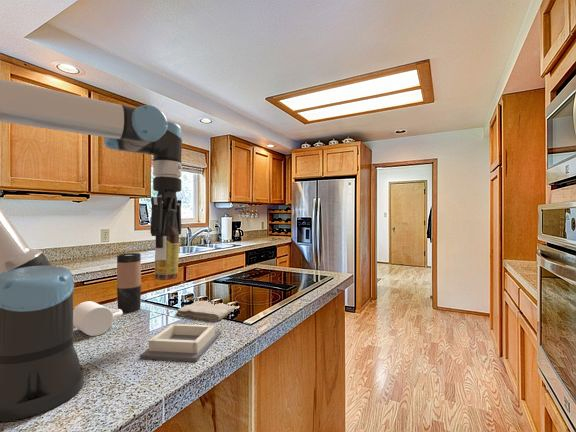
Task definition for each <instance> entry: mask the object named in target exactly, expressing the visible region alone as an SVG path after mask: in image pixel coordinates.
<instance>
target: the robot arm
mask: <svg viewBox="0 0 576 432" xmlns="http://www.w3.org/2000/svg"><path fill="white" fill-rule="evenodd" d="M0 123H6V124H13V125H19V126H26V127H33V128H41V129H46V130H53V131H59V132H60V131H62V132H66V133H76V134H81V135H82V134H83V135H88V136H89V135H90V136H94V137H95V136H96V137H103V144H104V146H105V147H106V148H107V149H110V150H115V151H118V152H127V153H128V152H129V153H135V154H144V155H151V156H153V159H152V160H153V163H152V164H153V165H152V167H153V168H152V169H153V171H152V175H153V176H154V178H152V189H153V191H154V192H157V194H156V196H151V197H150V205H151V212H150V213H151V217H150V232H149V233H150V235H151V237H155V247H154V249H155V252H154V261H155V260H166V236H164V235H165V229H166V223H167V217H168V213H169V212H170V210H176V216H175V226H176V229H177V230H178V232H179V236H180V235H181V234H182V199H178V197H177V193H179V192H181V191H182V179H181V177H182V170H183V169H184V168H183V166H182V152H183V151H182V149H183V145H182V144H183V136H182V128H181V126H180V125H179V124H178V123H176V122H174V121H168V120H167V117H166V115H165V113H164V112H163V111H162V110H161V109H159V108H158V107H157V106H155V105H152V104H143V105H140V106H137V107H134V106H129V105H124V104H119V103H113V102H109V101H104V100H100V99H96V98H91V97H86V96H82V95H77V94H73V93H68V92H64V91H59V90H55V89H50V88H46V87H41V86H36V85H32V84H27V83H22V82H17V81H13V80H8V79H4V78H0ZM74 290H75V281H74V277H73V273H72V271H71V270H70V269H68V268H66V267H63V266H56V265H52V263H51V262H50V260H49V259H48V258H47V256H46V255H45V253H44V252H43V251H42V250H39V249H34V248H31V247H29V245H28V244H27V242H26V241H25V240H24V238H23V237H22V235H21V234H20V233H19V231H18V229H17V228H16V227H15V225H14V224H13V223H12V221H11V220H10V218H9V217H8V216H7V214H6V213H5V212H4V210H3V208H2V207H1V206H0V421H6V422H13V421H16V420H22V419H25V418H29V417H33V416H36V415H39V414H41V413H44V412H46V411H50V410H51V409H53V408H56V407H58V406H60V405H62V404H63V403H65V402H67V401H68V400H70V399H72V398H73V397H75V396H76V395H77V394H78V393H79V392H80V391H81V389H83V387H84V384H85V370H84V367H83V366H82V365H81V363H80V360H79V357H78V356H79V355H78V354H77V351H76V349H75V346H74V326H73V309H74Z"/></svg>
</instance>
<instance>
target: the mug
mask: <svg viewBox="0 0 576 432" xmlns="http://www.w3.org/2000/svg"><path fill="white" fill-rule="evenodd" d="M123 315H124V313H123V312H122V310H121V309H118V308H108V307H106V306H104V305H102V304H100V303H97V302H95V301H92V300H91V301H90V300H88V301H83V302H81V303H78V304H77V305H76V306H75V307H73V328H77V330H80V331H81V332H82V333H84V334H86V335H87V336H91V337H97V336H100V335H103V334H104V333H106V332H107V331H108V330H109V329H110V328H111V327H112V325H113V323H114V322H113V321H114V319H116V318H119V317H121V316H123Z"/></svg>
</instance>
